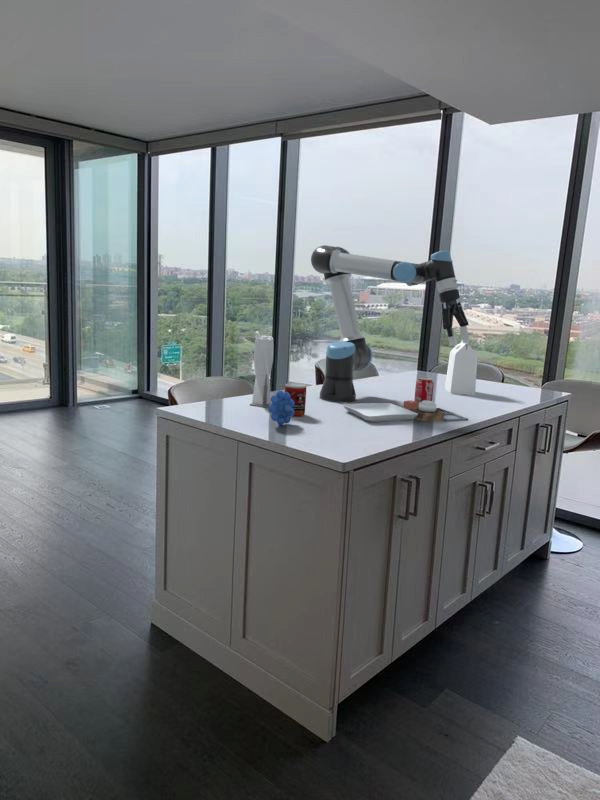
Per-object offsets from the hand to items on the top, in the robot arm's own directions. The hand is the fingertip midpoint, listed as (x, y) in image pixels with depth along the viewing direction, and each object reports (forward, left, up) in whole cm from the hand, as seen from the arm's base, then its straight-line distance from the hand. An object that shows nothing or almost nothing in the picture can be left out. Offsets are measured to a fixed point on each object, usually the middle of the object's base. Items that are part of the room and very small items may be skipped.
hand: (460, 343), depth 241 cm
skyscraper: (-74, +20, -27) cm, 81 cm away
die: (-19, +1, -27) cm, 33 cm away
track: (-9, -6, -27) cm, 29 cm away
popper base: (-19, -11, -27) cm, 35 cm away
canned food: (-67, +2, -27) cm, 72 cm away
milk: (+30, +38, -27) cm, 55 cm away
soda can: (-9, +8, -27) cm, 30 cm away
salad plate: (-36, -5, -28) cm, 46 cm away
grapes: (-77, -14, -27) cm, 83 cm away
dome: (-19, -11, -24) cm, 32 cm away
